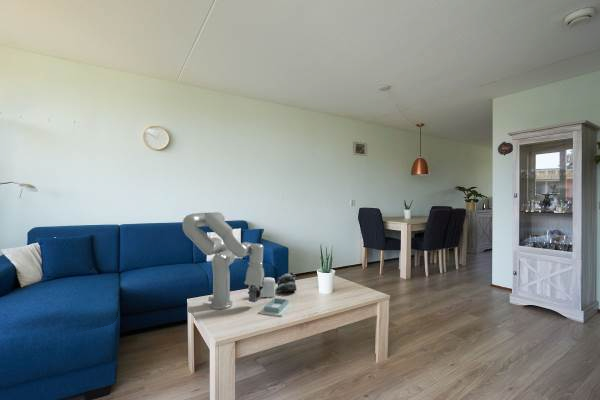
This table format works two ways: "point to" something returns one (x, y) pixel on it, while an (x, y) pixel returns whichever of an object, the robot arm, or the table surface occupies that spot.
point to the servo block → (253, 294)
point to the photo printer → (268, 288)
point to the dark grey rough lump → (286, 283)
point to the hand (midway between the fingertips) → (254, 296)
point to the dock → (276, 307)
